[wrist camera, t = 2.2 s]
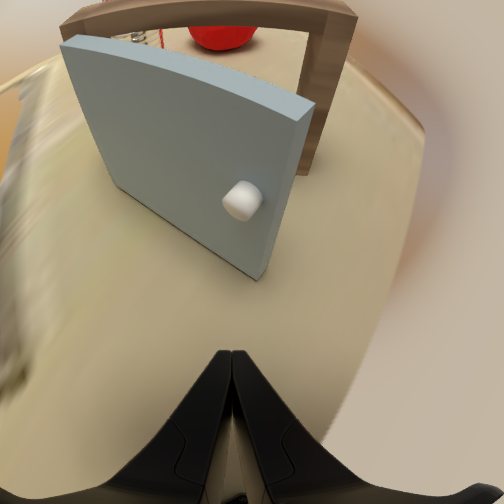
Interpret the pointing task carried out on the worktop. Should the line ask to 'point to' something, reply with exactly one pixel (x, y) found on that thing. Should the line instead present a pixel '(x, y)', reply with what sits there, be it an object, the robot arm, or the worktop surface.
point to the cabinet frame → (250, 15)
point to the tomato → (221, 36)
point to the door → (193, 141)
